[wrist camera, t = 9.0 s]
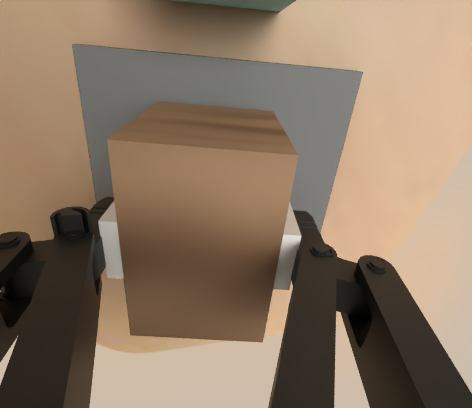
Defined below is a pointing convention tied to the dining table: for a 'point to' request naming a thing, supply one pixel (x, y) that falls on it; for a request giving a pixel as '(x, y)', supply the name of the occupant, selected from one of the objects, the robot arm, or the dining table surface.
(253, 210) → the walnut brick
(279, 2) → the teal brick
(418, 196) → the dining table surface
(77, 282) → the robot arm
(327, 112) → the mat
